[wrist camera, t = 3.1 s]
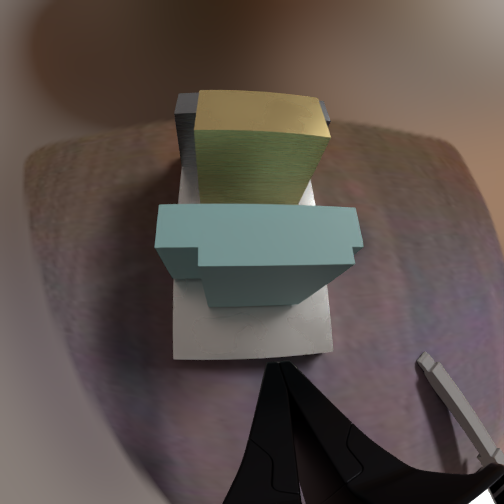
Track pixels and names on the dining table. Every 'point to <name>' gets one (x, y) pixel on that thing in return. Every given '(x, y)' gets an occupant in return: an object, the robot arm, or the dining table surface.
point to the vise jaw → (257, 249)
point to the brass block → (257, 146)
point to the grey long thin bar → (461, 410)
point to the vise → (243, 317)
